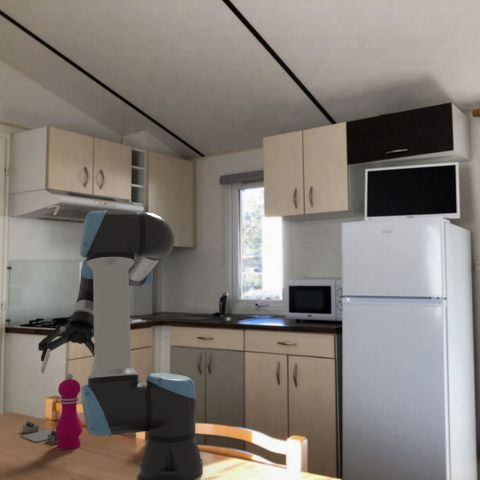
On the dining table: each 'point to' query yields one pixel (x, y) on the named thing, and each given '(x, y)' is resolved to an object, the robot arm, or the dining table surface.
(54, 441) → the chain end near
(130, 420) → the robot arm
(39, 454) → the dining table surface
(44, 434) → the plate
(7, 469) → the dining table surface
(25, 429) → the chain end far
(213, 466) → the dining table surface
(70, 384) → the pepper mill
